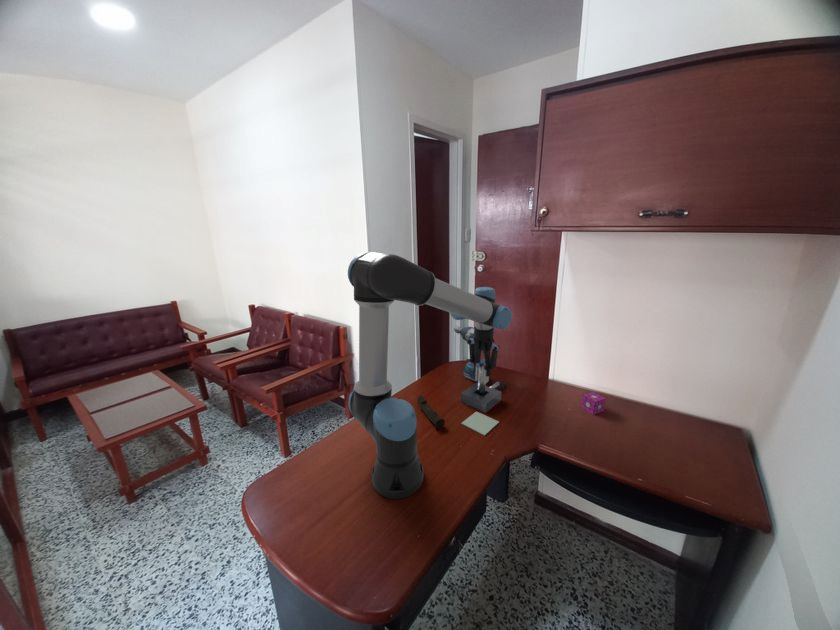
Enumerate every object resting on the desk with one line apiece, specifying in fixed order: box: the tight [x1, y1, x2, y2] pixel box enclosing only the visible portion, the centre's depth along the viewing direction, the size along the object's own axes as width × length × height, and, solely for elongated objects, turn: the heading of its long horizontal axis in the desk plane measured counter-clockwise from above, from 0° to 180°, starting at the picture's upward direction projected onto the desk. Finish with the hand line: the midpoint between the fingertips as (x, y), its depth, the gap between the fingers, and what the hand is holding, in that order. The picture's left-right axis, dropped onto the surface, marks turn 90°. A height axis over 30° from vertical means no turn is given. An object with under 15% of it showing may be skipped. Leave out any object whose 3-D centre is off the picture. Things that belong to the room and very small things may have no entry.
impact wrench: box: [453, 325, 495, 383], centre depth 146 cm, size 8×23×25 cm, turn 40°
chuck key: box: [476, 357, 487, 393], centre depth 126 cm, size 7×3×14 cm, turn 137°
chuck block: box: [460, 381, 502, 414], centre depth 131 cm, size 20×12×4 cm, turn 137°
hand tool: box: [416, 395, 446, 430], centre depth 120 cm, size 19×4×5 cm, turn 23°
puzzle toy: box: [580, 391, 606, 416], centre depth 121 cm, size 6×6×6 cm
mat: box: [460, 411, 500, 436], centre depth 115 cm, size 10×10×1 cm
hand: (481, 380), depth 127 cm, fingers closed on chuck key, 3 cm apart
